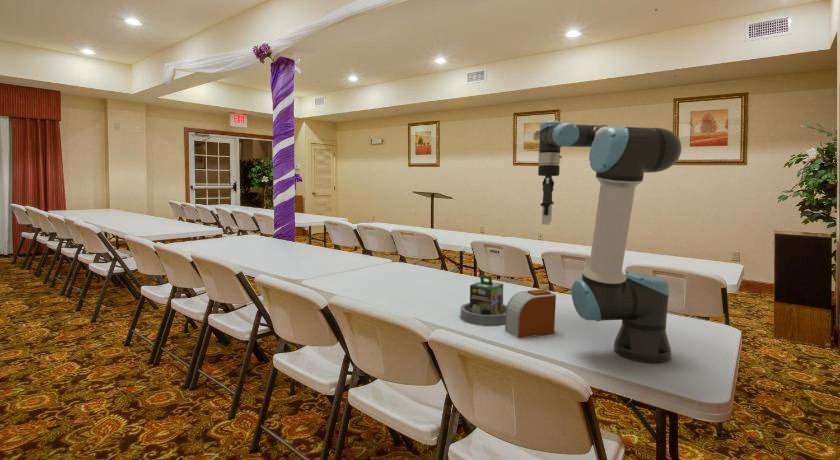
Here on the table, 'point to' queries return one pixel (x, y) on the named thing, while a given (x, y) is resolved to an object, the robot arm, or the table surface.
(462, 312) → the round tray
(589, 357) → the table surface
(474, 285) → the chalk box
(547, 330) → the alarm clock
